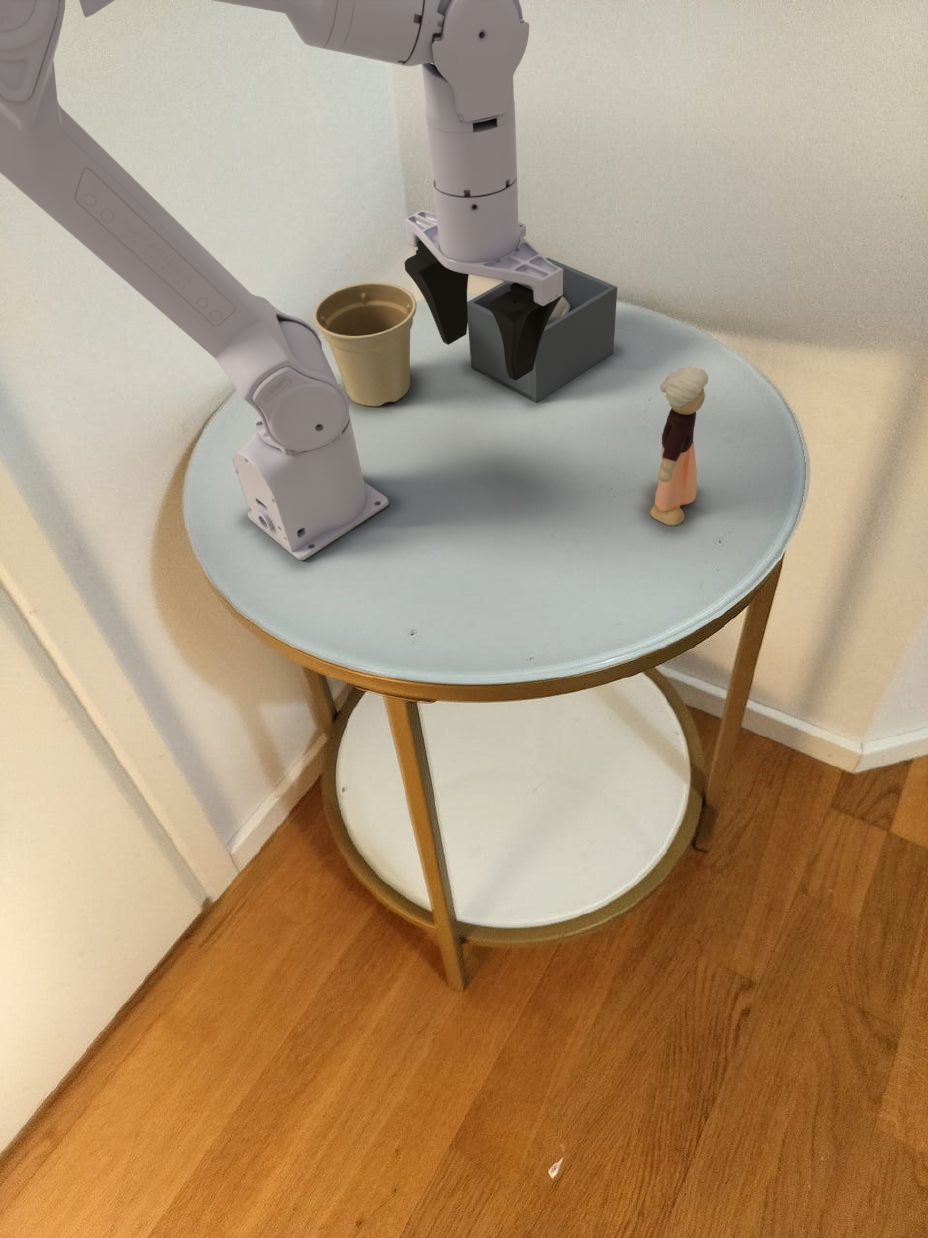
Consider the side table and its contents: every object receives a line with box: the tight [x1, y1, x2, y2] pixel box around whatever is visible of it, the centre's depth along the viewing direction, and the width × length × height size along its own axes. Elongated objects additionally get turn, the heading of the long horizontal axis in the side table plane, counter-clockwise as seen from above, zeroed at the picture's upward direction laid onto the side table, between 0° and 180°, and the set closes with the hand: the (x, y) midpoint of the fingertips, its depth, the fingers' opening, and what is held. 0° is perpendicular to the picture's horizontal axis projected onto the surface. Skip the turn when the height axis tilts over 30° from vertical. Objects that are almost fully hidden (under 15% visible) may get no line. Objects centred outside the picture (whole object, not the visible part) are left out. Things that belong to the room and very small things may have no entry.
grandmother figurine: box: [649, 366, 709, 527], centre depth 66 cm, size 8×4×13 cm, turn 171°
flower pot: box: [312, 281, 418, 407], centre depth 82 cm, size 9×9×9 cm
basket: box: [467, 257, 618, 404], centre depth 84 cm, size 11×12×7 cm
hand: (487, 355), depth 69 cm, fingers open, 7 cm apart
